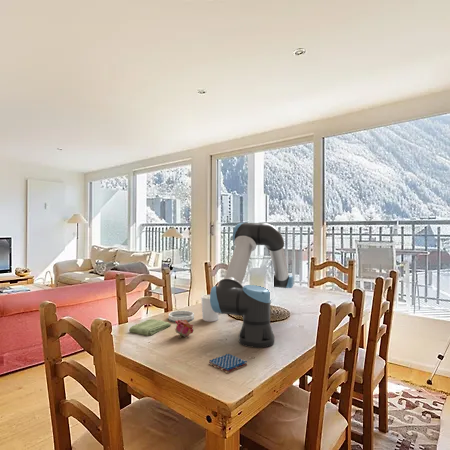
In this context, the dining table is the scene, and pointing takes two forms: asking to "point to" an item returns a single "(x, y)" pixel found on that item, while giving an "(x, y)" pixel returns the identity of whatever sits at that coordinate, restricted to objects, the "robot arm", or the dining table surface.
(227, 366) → the woven mat
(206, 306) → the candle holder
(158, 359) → the dining table surface
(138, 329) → the washcloth
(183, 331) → the flower
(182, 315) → the grey round dish
